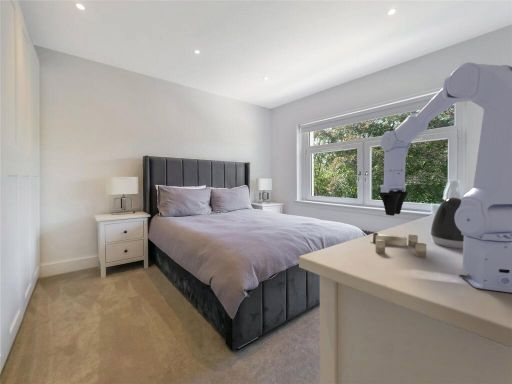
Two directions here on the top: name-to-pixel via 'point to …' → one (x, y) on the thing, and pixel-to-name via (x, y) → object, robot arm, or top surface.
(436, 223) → the dark grey tapered dome
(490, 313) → the top surface
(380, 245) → the stool seat
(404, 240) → the hinged leg
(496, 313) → the top surface
